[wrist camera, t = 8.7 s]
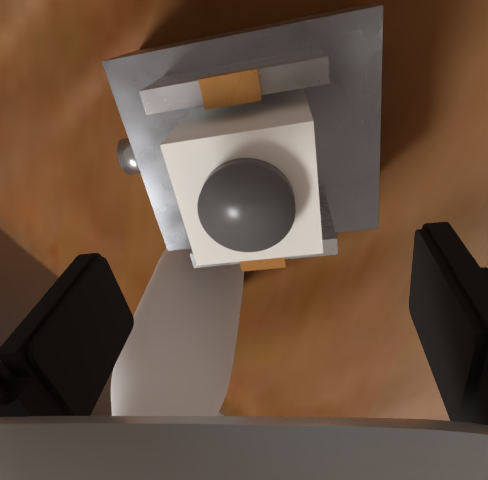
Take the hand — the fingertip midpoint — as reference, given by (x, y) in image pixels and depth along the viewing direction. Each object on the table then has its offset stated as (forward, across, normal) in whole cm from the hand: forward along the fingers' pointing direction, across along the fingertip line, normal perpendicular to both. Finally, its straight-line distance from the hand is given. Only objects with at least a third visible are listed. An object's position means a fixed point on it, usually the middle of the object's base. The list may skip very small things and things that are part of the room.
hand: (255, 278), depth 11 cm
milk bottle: (+18, +8, +12) cm, 23 cm away
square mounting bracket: (+18, +1, 0) cm, 18 cm away
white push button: (+12, +1, 0) cm, 12 cm away
